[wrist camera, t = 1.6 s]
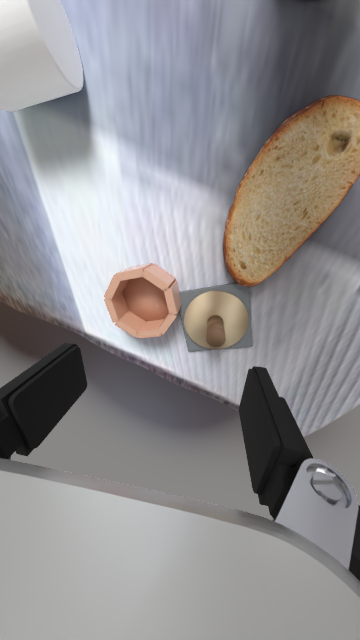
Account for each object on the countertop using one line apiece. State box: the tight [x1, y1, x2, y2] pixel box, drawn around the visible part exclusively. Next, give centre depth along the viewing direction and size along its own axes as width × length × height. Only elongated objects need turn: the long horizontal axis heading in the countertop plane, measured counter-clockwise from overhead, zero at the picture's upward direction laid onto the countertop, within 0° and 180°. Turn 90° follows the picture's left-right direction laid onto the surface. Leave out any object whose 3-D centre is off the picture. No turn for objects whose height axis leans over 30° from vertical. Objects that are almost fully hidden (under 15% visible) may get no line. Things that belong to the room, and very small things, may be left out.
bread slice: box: [223, 95, 360, 287], centre depth 23 cm, size 18×18×4 cm
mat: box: [179, 283, 252, 351], centre depth 33 cm, size 12×12×1 cm
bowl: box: [104, 263, 181, 339], centre depth 31 cm, size 11×11×5 cm
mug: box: [0, 0, 84, 112], centre depth 18 cm, size 12×10×8 cm
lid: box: [184, 290, 249, 349], centre depth 30 cm, size 11×11×6 cm
